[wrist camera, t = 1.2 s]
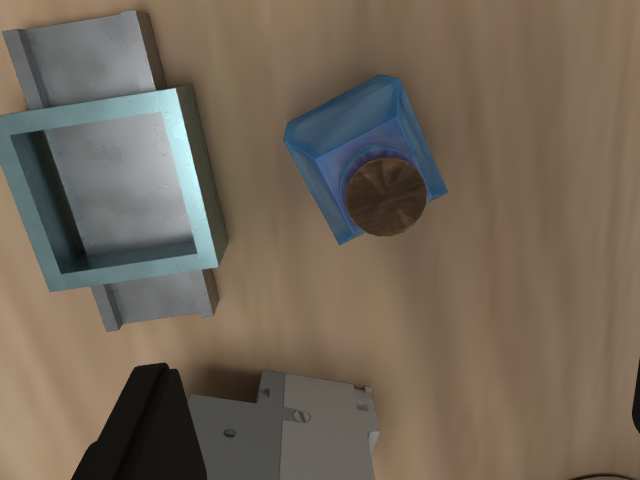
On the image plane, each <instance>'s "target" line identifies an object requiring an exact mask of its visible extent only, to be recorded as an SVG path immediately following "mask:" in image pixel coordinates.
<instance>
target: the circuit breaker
mask: <svg viewBox="0 0 640 480" xmlns="http://www.w3.org/2000/svg"><path fill="white" fill-rule="evenodd" d="M370 394H371V387H368V386H365V389H364V390H359V389H354V384H349V383H343V382H336V381H330V380H324V379H318V378H311V377H305V376H299V375H292V374H286V373H280V372H273V371H267V370H263V371H262V376H261V381H260V386H259V391H258V395H257V400H256V403H249V402H242V401H236V400H229V399H222V398H215V397H209V396H202V395H195V394H191V395H190V397H189V400H188V406H189V410H190V413H191V417H192V420H193V424H194V428H195V431H196V435H197V438H198V442H199V445H200V449H201V452H202V456H203V459H204V463H205V467H206V471H207V480H375V476H374V470H373V465H372V459H371V458H372V455H373V451H374V448H375V445H376V442H377V439H378V436H379V433H380V429H379V424H378V419H377V414H376V409H375V405H374V401H373V400H371V396H370ZM366 407H367V408H366Z"/></svg>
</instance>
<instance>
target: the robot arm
mask: <svg viewBox="0 0 640 480" xmlns="http://www.w3.org/2000/svg"><path fill="white" fill-rule="evenodd" d="M632 418H633V422H634V425H635V427H636V429H637V430H638V432H639V433H640V360H639V367H638V374H637V381H636V388H635V395H634V402H633V409H632ZM71 480H207V471H206V467H205V463H204V459H203V456H202V452H201V449H200V445H199V442H198V438H197V435H196V431H195V428H194V424H193V420H192V417H191V413H190V410H189V406H188V403H187V399H186V396H185V392H184V389H183V385H182V381H181V378H180V375H179V372H178V370H177V369H169V366H168V365H167V364H166V363H157V364H150V365H142V366H137V367H135V368H134V369H133V371H132V373H131V375H130V377H129V379H128V381H127V383H126V385H125V387H124V389H123V390H122V392H121V394H120V396H119V398H118V400H117V402H116V404H115V406H114V408H113V410H112V412H111V414H110V416H109V418H108V420H107V422H106V424H105V426H104V428H103V430H102V432H101V434H100V436H99V438H98V440H97V441H95V442H94V443H92V444H91V445H90V446H89V447H88V449H87V450H86V452H85V454H84V456H83V458H82V459H81V461H80V463H79V465H78V467H77V469H76V471H75V473H74V475H73V477H72V479H71ZM582 480H629V479H625V478H619V477H593V478H586V479H582Z"/></svg>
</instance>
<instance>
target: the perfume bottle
mask: <svg viewBox="0 0 640 480" xmlns="http://www.w3.org/2000/svg"><path fill="white" fill-rule="evenodd" d="M283 140H284V142H285V144H286V146H287V148H288V150H289V151H290V153H291V155H292V157H293V159H294V161H295V163H296V165H297V166H298V168H299V170H300V172H301V174H302V176H303V178H304V180H305V182H306V183H307V185H308V187H309V189H310V191H311V193H312V195H313V197H314V198H315V200H316V202H317V204H318V206H319V208H320V210H321V212H322V213H323V215H324V217H325V219H326V221H327V223H328V225H329V227H330V228H331V230H332V232H333V234H334V236H335V238H336V240H337V242H338V243H339V245H341V244H343V243H345V242H347V241H349V240H351V239H353V238H355V237H357V236H359V235H361V234H363V233H365V232H366V233H369V234H373V235H376V236H393V235H396V234H399V233H402V232H404V231H405V230H407V229H408V228H410V227H411V226H413V225H414V224H415V223H416V221H417V220H418V219H419V218H420V217H421V215H422V213H423V210H424V208H425V205H426V203H427V202H429V201H431V200H434V199H436V198H438V197H440V196H442V195H444V194H446V193H448V191H447V189H446V186H445V184H444V182H443V179H442V177H441V175H440V172H439V170H438V168H437V165H436V163H435V161H434V158H433V156H432V153H431V151H430V149H429V146H428V144H427V142H426V139H425V137H424V135H423V132H422V130H421V128H420V125H419V123H418V121H417V118H416V116H415V114H414V111H413V109H412V107H411V104H410V102H409V100H408V97H407V95H406V93H405V90H404V88H403V85H402V83H401V81H400V79H399V78H394V77H390V76H385V75H378V76H376V77H374V78H372V79H371V80H369V81H367V82H365V83H363V84H361V85H359V86H357V87H355V88H354V89H352V90H350V91H348V92H346V93H344V94H342V95H340V96H338V97H337V98H335V99H333V100H331V101H329V102H327V103H325V104H323V105H321V106H320V107H318V108H316V109H314V110H312V111H310V112H308V113H306V114H304V115H303V116H301V117H299V118H297V119H295V120H293V121H291V122H289V123H287V126H286V130H285V134H284V138H283Z"/></svg>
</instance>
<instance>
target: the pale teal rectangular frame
mask: <svg viewBox="0 0 640 480" xmlns="http://www.w3.org/2000/svg"><path fill="white" fill-rule="evenodd" d="M2 34H3V37H4V40H5V42H6V45H7V48H8V51H9V54H10V57H11V60H12V62H13V65H14V68H15V71H16V74H17V77H18V80H19V82H20V85H21V88H22V91H23V94H24V97H25V100H26V103H27V105H28V108H29V110H26V111H20V112H15V113H10V114H4V115H0V164H1V166H2V169H3V172H4V174H5V177H6V179H7V182H8V185H9V187H10V190H11V192H12V195H13V198H14V200H15V203H16V205H17V208H18V211H19V213H20V216H21V218H22V221H23V224H24V226H25V229H26V232H27V234H28V237H29V239H30V242H31V245H32V247H33V250H34V252H35V255H36V258H37V260H38V263H39V265H40V268H41V271H42V273H43V276H44V278H45V281H46V284H47V286H48V289H49V291H50V292H55V291H61V290H68V289H75V288H82V287H88V286H91V289H92V292H93V295H94V297H95V300H96V303H97V306H98V309H99V312H100V315H101V318H102V320H103V323H104V326H105V329H106V332H111V331H117V330H119V329H120V328H121V326H122V325H123V324H126V323H133V322H140V321H146V320H153V319H160V318H167V317H173V316H180V315H187V314H194V313H200V315H201V318H206V317H212V316H214V314H215V311H216V308H217V305H218V302H219V296H218V292H217V288H216V284H215V280H214V276H213V272H212V268H216V267H219V265H220V263H221V260H222V258H223V255H224V253H225V250H226V248H227V245H228V243H229V242H228V238H227V233H226V229H225V225H224V220H223V216H222V212H221V207H220V203H219V199H218V194H217V190H216V185H215V181H214V177H213V172H212V168H211V164H210V159H209V155H208V151H207V146H206V142H205V137H204V133H203V129H202V124H201V120H200V116H199V111H198V107H197V103H196V98H195V94H194V89H193V85H192V84H191V85H185V86H178V87H172V88H167V86H166V82H165V78H164V74H163V70H162V66H161V62H160V58H159V54H158V50H157V46H156V42H155V37H154V33H153V29H152V25H151V21H150V17H149V14H148V13H144V12H141V11H137V10H132V11H125V12H120V15H114V16H108V17H102V18H96V19H89V20H83V21H77V22H71V23H64V24H58V25H52V26H46V27H39V28H33V29H27V30H22V29H13V30H7V31H2Z"/></svg>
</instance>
